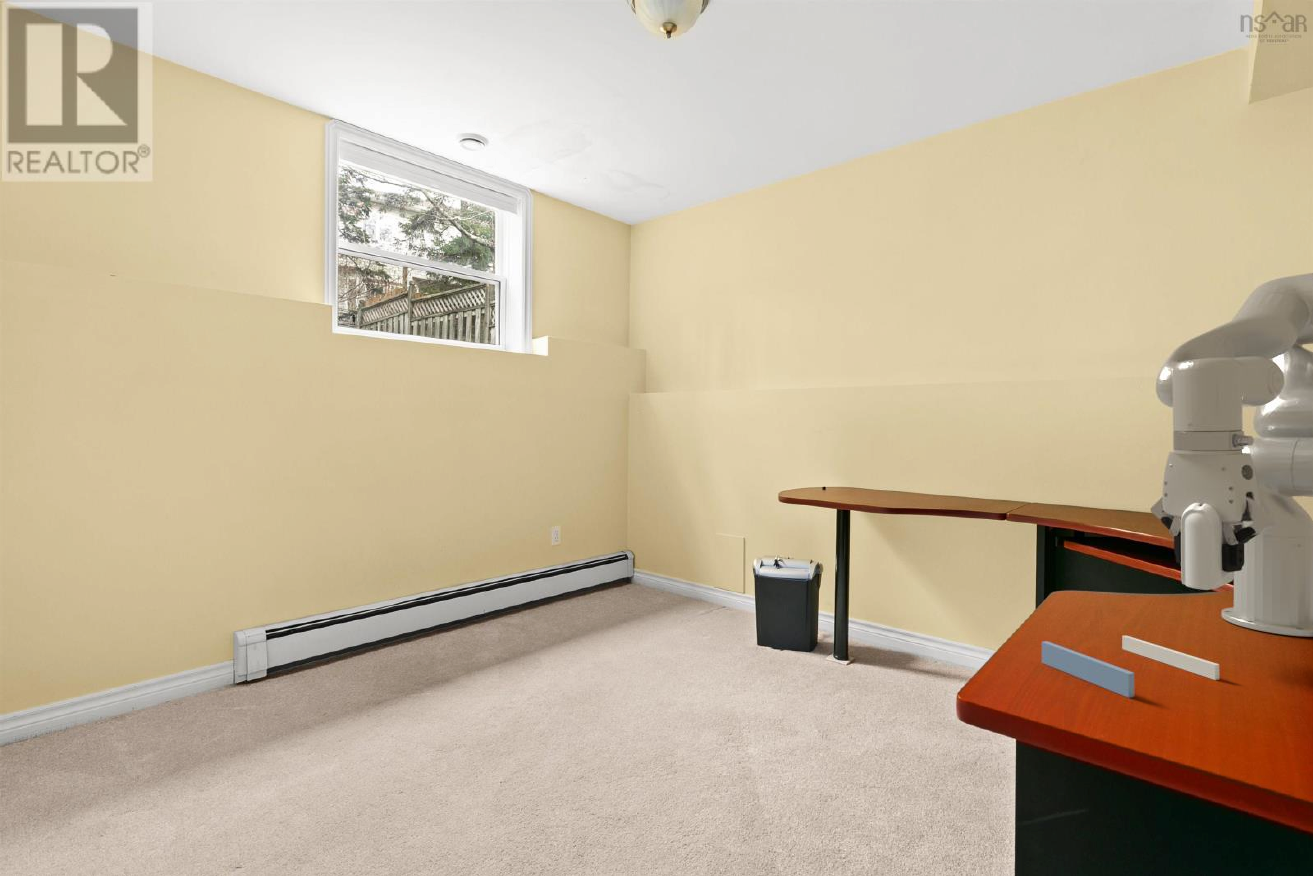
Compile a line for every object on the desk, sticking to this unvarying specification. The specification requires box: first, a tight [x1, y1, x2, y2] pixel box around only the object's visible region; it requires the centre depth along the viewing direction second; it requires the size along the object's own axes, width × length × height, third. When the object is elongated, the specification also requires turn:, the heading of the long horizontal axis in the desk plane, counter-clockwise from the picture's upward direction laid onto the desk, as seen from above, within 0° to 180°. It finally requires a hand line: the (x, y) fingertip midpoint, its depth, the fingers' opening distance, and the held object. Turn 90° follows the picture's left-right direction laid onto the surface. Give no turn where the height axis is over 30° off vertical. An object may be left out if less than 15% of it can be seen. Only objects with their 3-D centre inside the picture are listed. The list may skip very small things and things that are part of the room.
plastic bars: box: [1041, 635, 1220, 699], centre depth 84 cm, size 17×12×3 cm
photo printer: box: [1180, 503, 1234, 591], centre depth 89 cm, size 10×4×12 cm, turn 123°
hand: (1207, 565), depth 89 cm, fingers closed on photo printer, 5 cm apart
